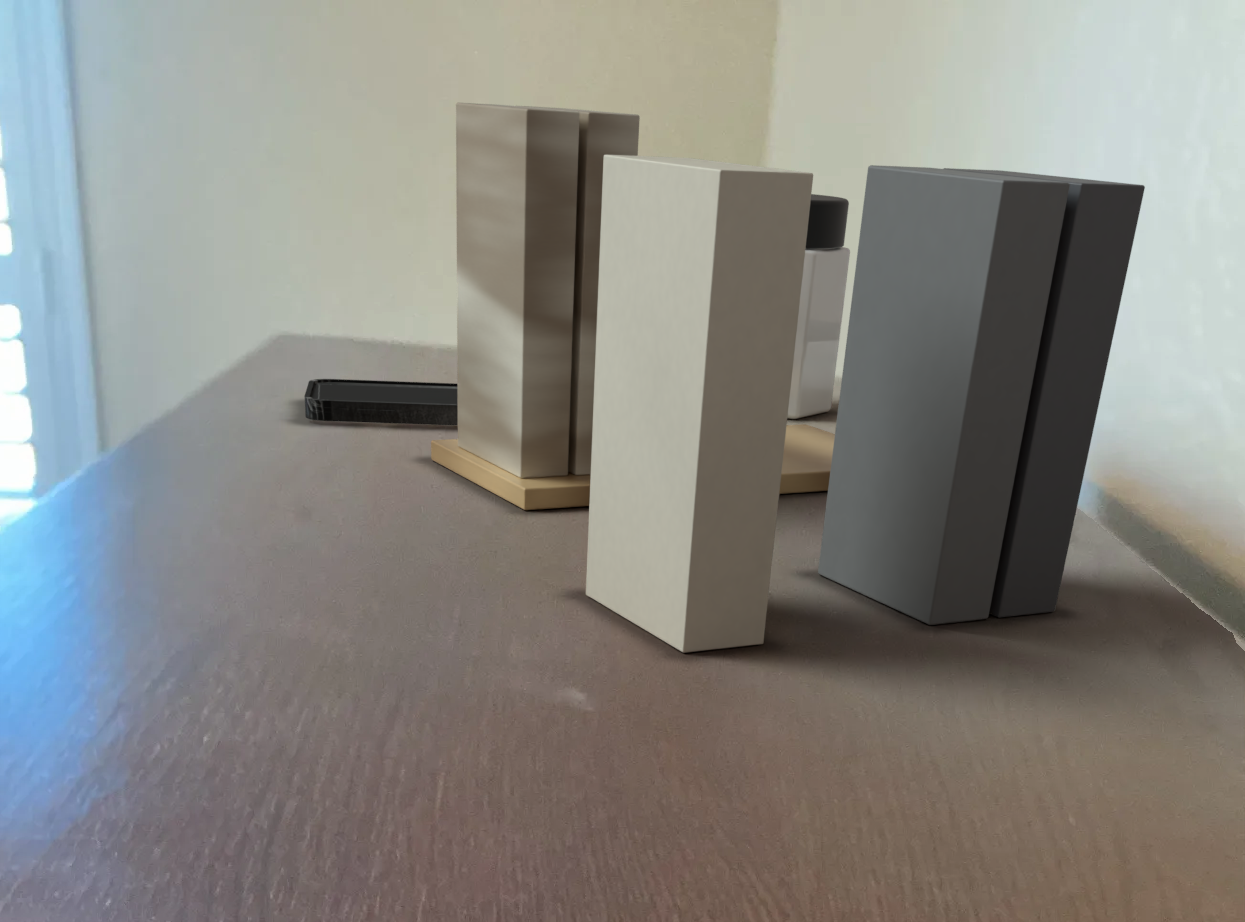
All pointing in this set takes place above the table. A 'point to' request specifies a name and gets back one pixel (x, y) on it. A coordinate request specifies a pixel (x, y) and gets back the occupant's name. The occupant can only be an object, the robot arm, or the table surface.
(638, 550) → the tall off-white box
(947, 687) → the table surface
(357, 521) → the table surface
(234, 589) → the table surface
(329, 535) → the table surface
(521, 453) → the book rack
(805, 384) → the jar
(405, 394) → the phone
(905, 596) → the grey books
